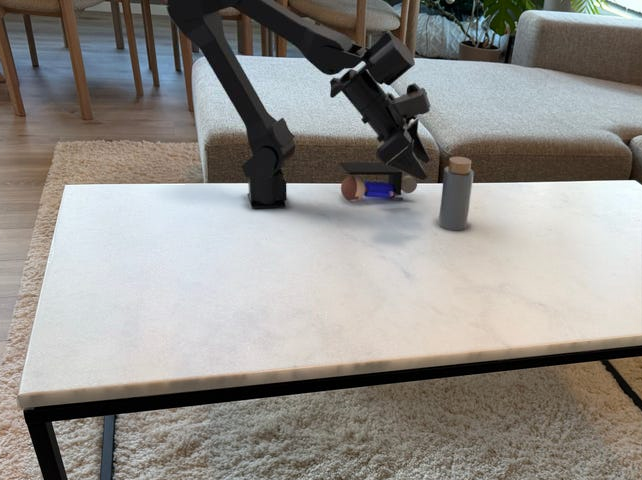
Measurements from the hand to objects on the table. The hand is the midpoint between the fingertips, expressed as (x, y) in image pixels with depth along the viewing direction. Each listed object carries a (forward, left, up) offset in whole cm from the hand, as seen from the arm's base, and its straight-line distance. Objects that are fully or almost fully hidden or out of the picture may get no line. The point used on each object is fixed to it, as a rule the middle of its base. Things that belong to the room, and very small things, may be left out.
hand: (426, 170), depth 128 cm
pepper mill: (+6, 0, -11) cm, 13 cm away
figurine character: (-5, +14, -11) cm, 18 cm away
